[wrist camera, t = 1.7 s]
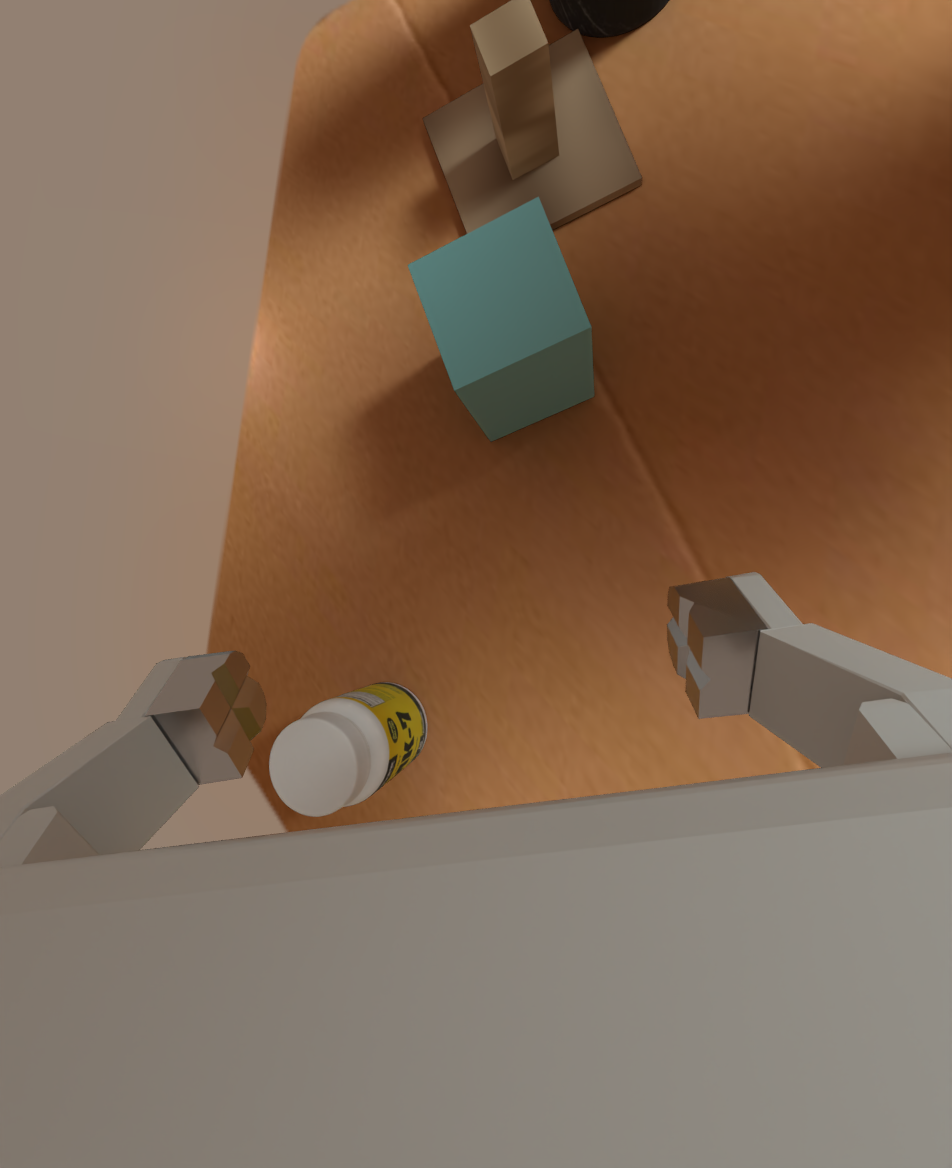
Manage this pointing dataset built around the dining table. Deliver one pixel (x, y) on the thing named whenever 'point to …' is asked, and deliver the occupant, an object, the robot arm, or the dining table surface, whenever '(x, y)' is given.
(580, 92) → the flat square base
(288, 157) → the dining table surface
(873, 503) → the dining table surface
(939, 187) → the dining table surface
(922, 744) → the robot arm
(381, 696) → the supplement bottle
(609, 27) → the travel mug
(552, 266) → the teal rectangular block
